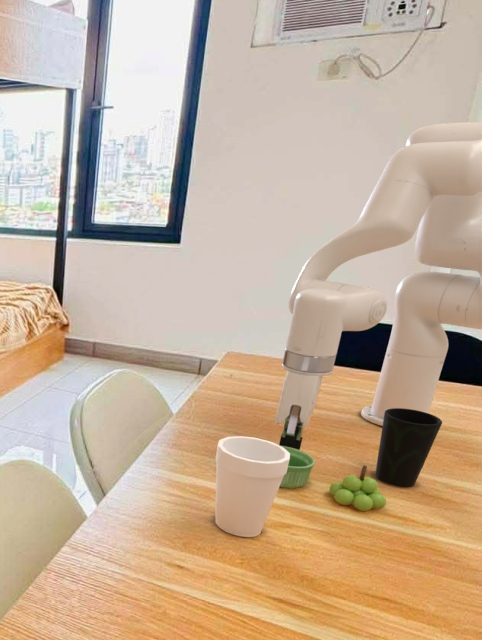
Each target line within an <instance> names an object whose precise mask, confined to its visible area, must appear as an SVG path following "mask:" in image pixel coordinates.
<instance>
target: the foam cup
mask: <svg viewBox="0 0 482 640" xmlns="http://www.w3.org/2000/svg"><path fill="white" fill-rule="evenodd" d="M214 460H215V461H216V465H215V466H216V468H215V469H216V470H215V471H216V472H215V473H216V474H215V509H214V510H215V515H214V516H215V517H214V519H215V522H214V523H215V524H216V525H217V527H218V528H219V529H220V530H222V531H223V532H225V533H228V534H230V535H234V536H235V537H236V536H237V537H243V538H252V537H257V536H259V535H260V534H261V532H262V531H263V529H264V526H265V524H266V522H267V519H268V515H269V514H270V511H271V508H272V506H273V504H274V501H275V498H276V497H277V494H278V491H279V489H280V484H281V481H282V479H283V477H284V475H285V474H286V473H287V469H288V464H289V460H290V453H289V452H288V451H287V450H286V449H285V448H284V447H282V446H279V444H277V443H275V442H272V441H270V440H266V439H263V438H258V437H252V436H244V435H242V436H241V435H237V436H226V437H223V438H221V439H219V440H218V443H217V446H216V453H215V458H214Z"/></svg>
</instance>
